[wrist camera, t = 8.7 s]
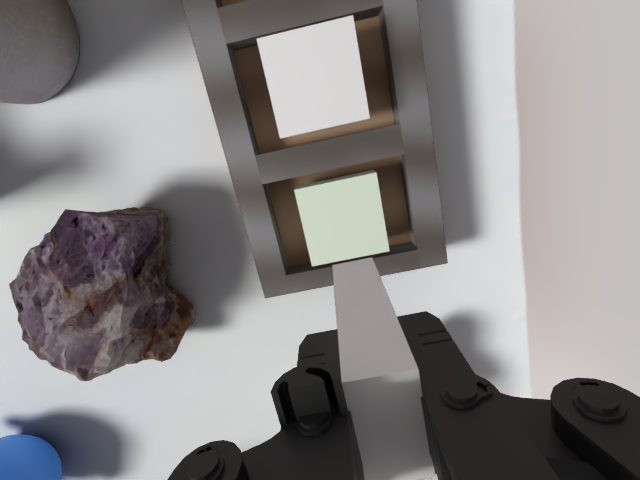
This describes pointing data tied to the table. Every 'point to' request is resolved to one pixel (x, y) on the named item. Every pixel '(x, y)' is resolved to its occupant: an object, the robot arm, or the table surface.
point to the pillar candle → (36, 49)
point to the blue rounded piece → (28, 459)
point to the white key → (314, 77)
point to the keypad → (322, 133)
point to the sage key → (342, 217)
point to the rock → (101, 293)
